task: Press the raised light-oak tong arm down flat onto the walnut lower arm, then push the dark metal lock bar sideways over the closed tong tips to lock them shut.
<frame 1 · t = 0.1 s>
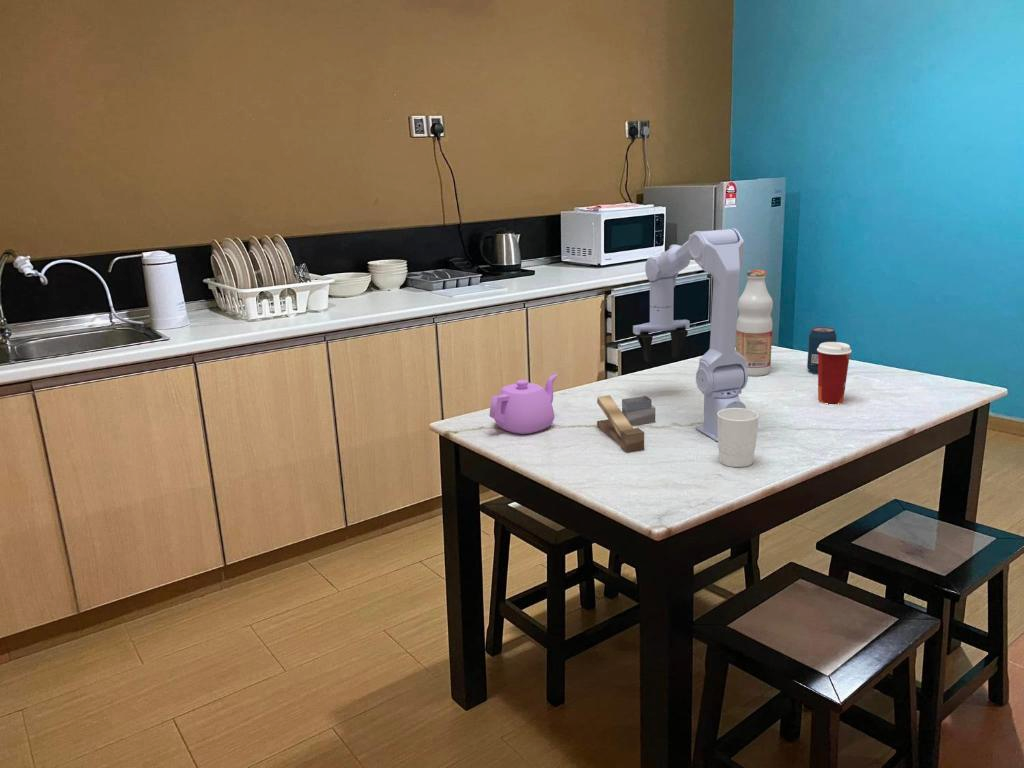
hand: (661, 359, 197), 10 cm above the table, tool pointing down, fingers open, 7 cm apart
soda can: (820, 372, 215), on the table
tongs base: (615, 435, 175), on the table
fruit juice: (752, 372, 218), on the table
white cup: (736, 462, 158), on the table
teapot: (526, 426, 185), on the table
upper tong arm: (615, 416, 174), point 5 cm above the table, hinge at 18.0°
paper cup: (830, 401, 191), on the table
lock bar: (636, 403, 181), point 5 cm above the table, slide at 0.0 cm
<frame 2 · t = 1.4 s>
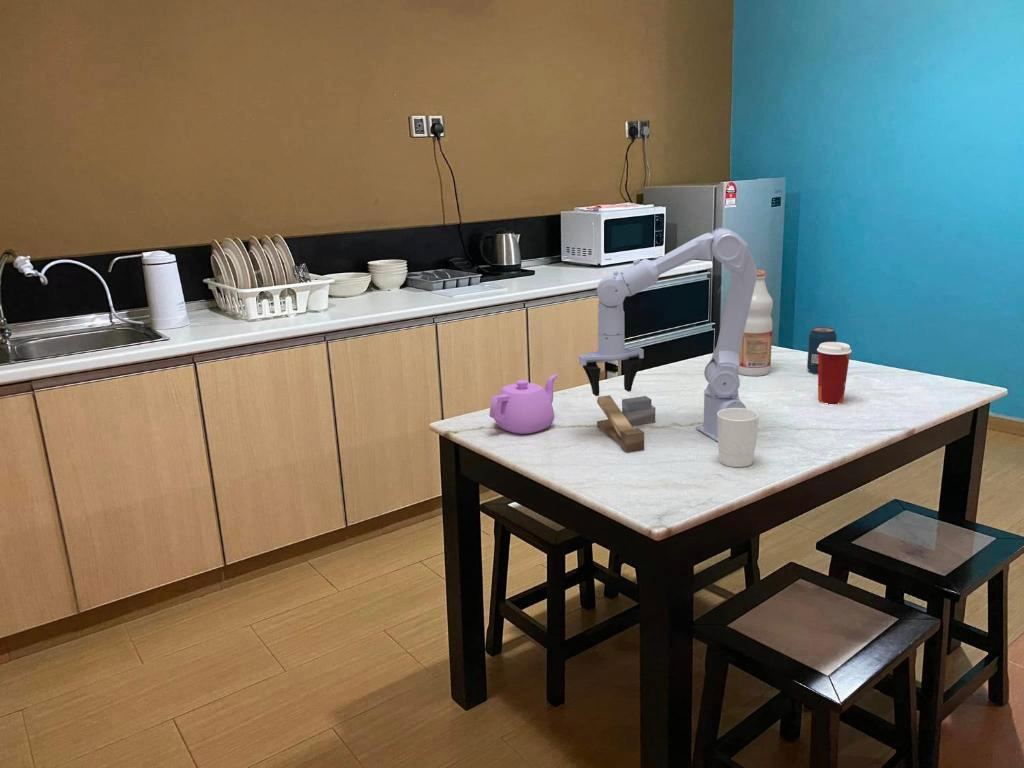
hand: (611, 392, 174), 9 cm above the table, tool pointing down, fingers open, 7 cm apart
nothing on the table moved.
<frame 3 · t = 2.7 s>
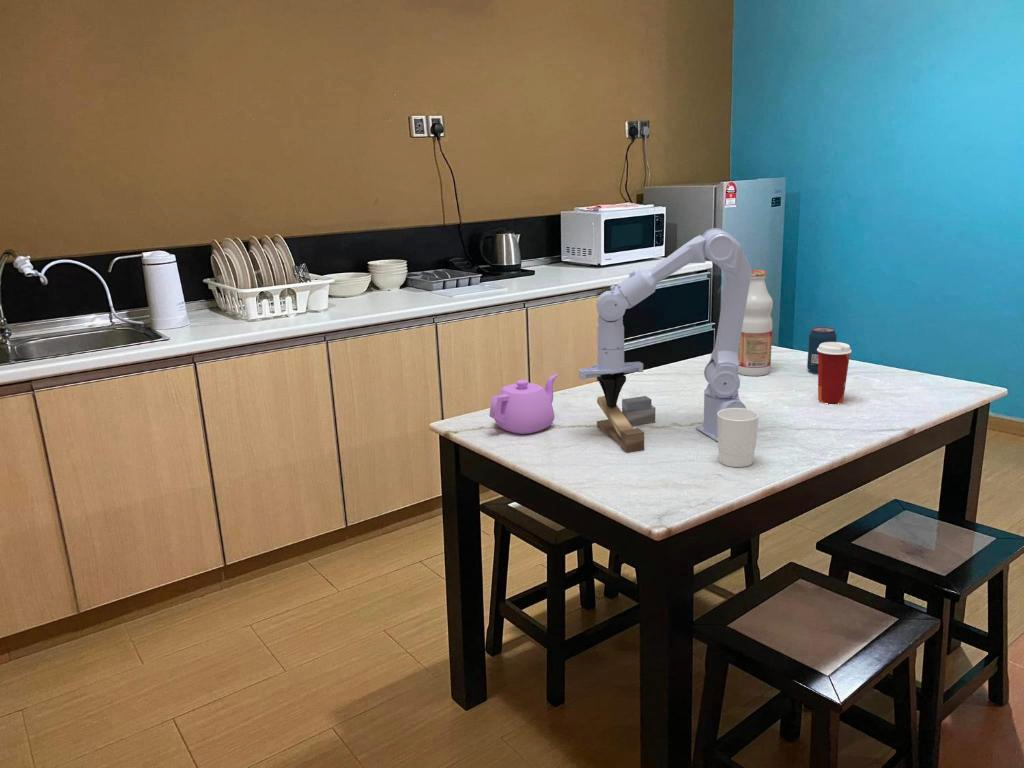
hand: (611, 406, 175), 6 cm above the table, tool pointing down, fingers closed, pressing on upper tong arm
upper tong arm: (615, 416, 174), point 5 cm above the table, hinge at 18.0°, touching gripper
everything else where it was.
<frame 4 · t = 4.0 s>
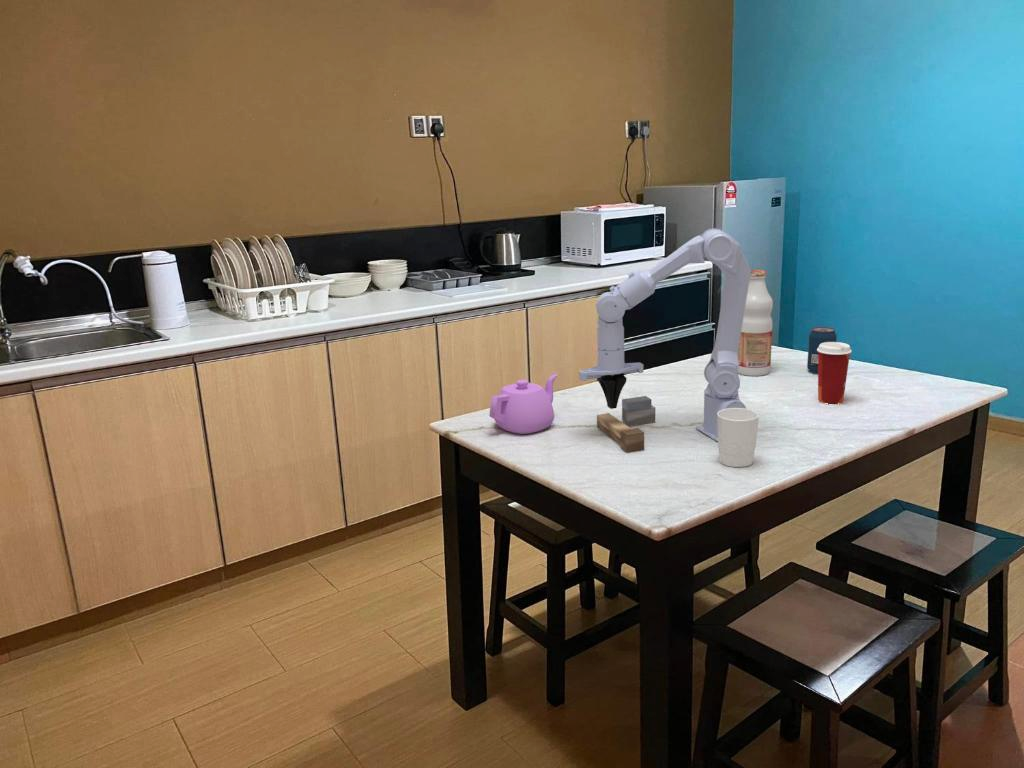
hand: (612, 407, 175), 6 cm above the table, tool pointing down, fingers closed
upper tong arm: (615, 426, 174), point 2 cm above the table, hinge at -0.7°, touching tongs base
everything else where it was.
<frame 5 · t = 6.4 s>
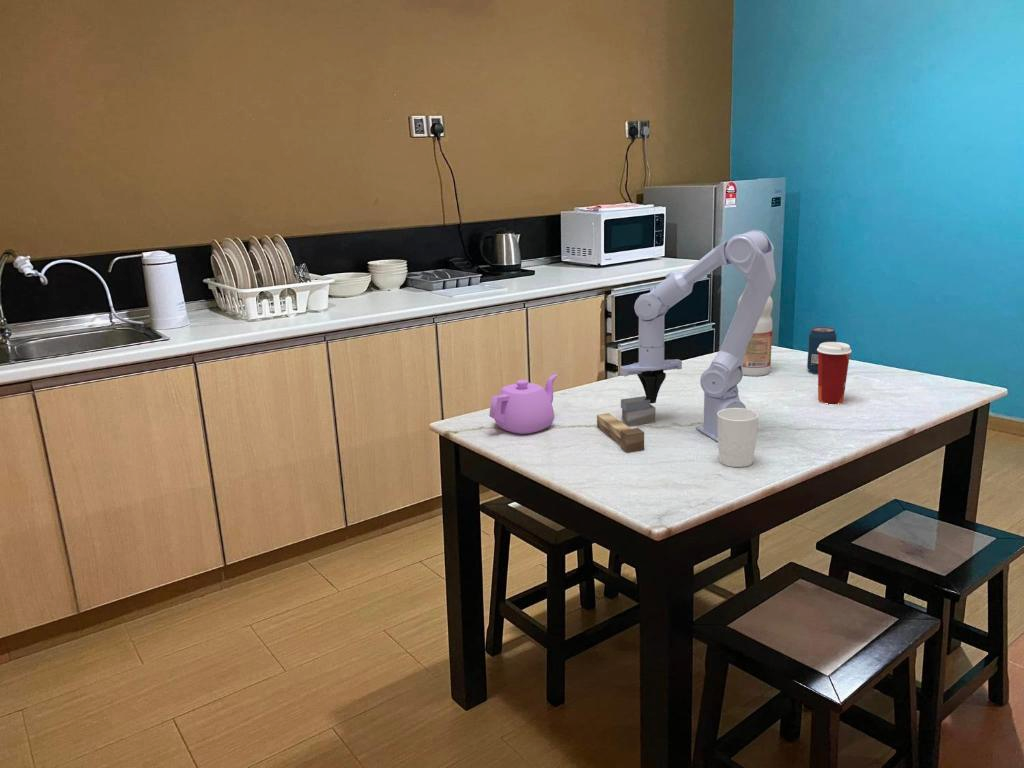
hand: (651, 402, 182), 5 cm above the table, tool pointing down, fingers closed
lock bar: (635, 403, 181), point 5 cm above the table, slide at 0.3 cm, touching gripper
everything else where it was.
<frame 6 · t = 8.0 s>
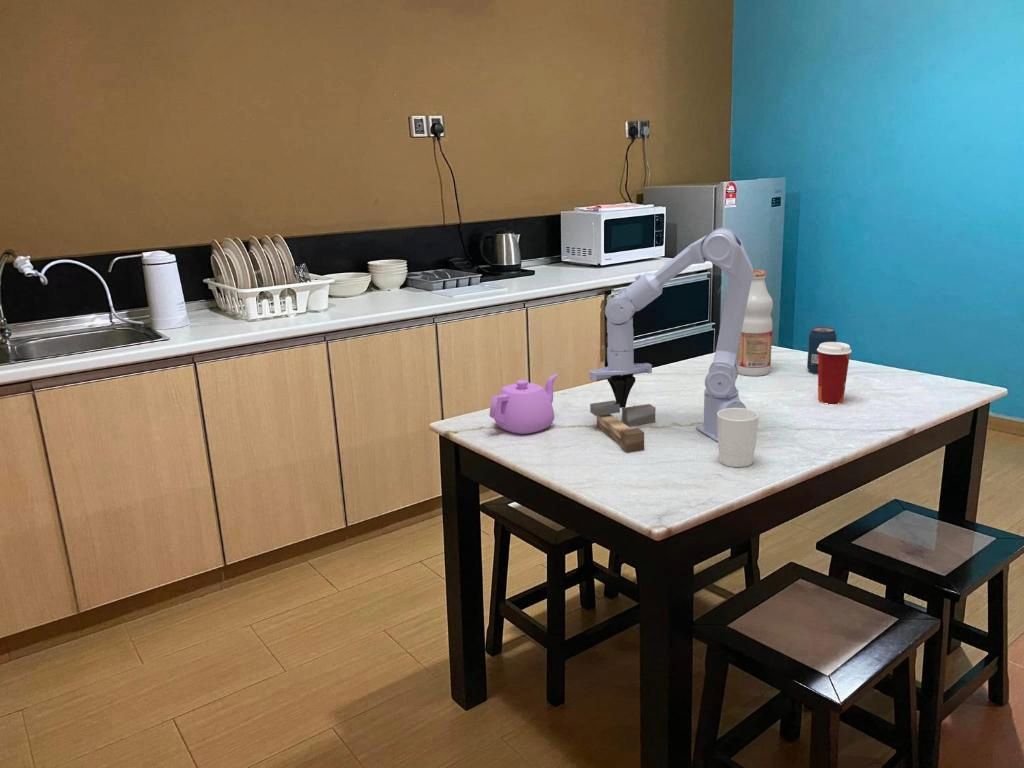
hand: (621, 406, 180), 5 cm above the table, tool pointing down, fingers closed
lock bar: (604, 408, 179), point 5 cm above the table, slide at 7.9 cm, touching gripper
everything else where it was.
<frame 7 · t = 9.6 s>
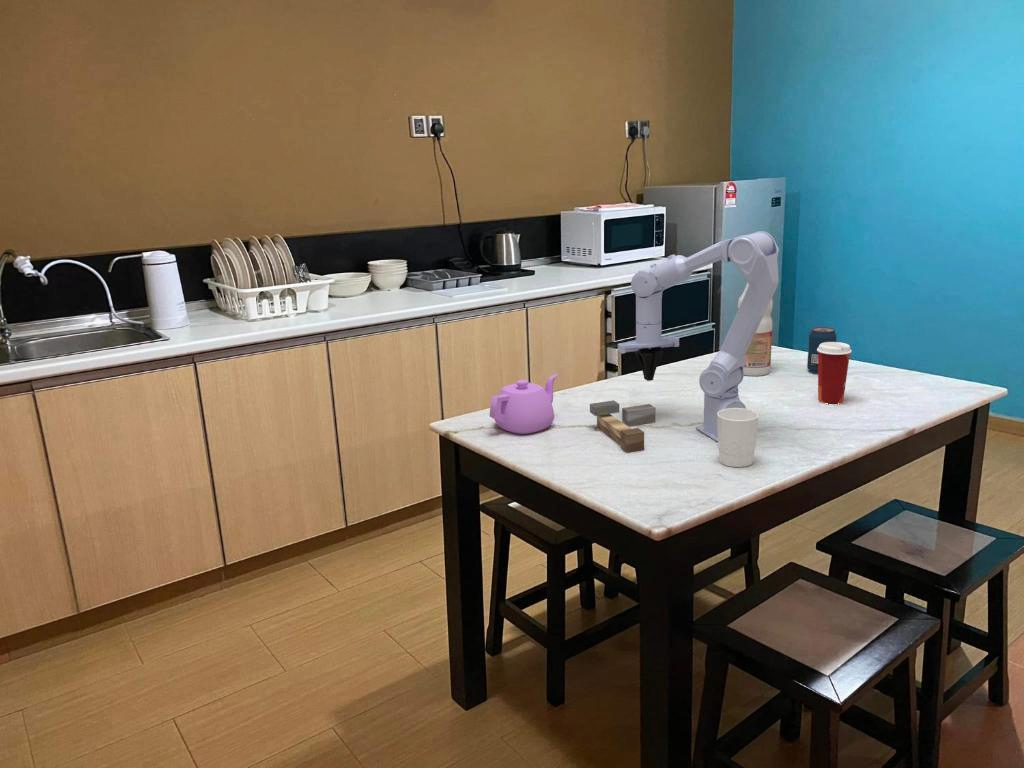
hand: (648, 379, 183), 9 cm above the table, tool pointing down, fingers closed
lock bar: (604, 408, 179), point 5 cm above the table, slide at 8.0 cm
everything else where it was.
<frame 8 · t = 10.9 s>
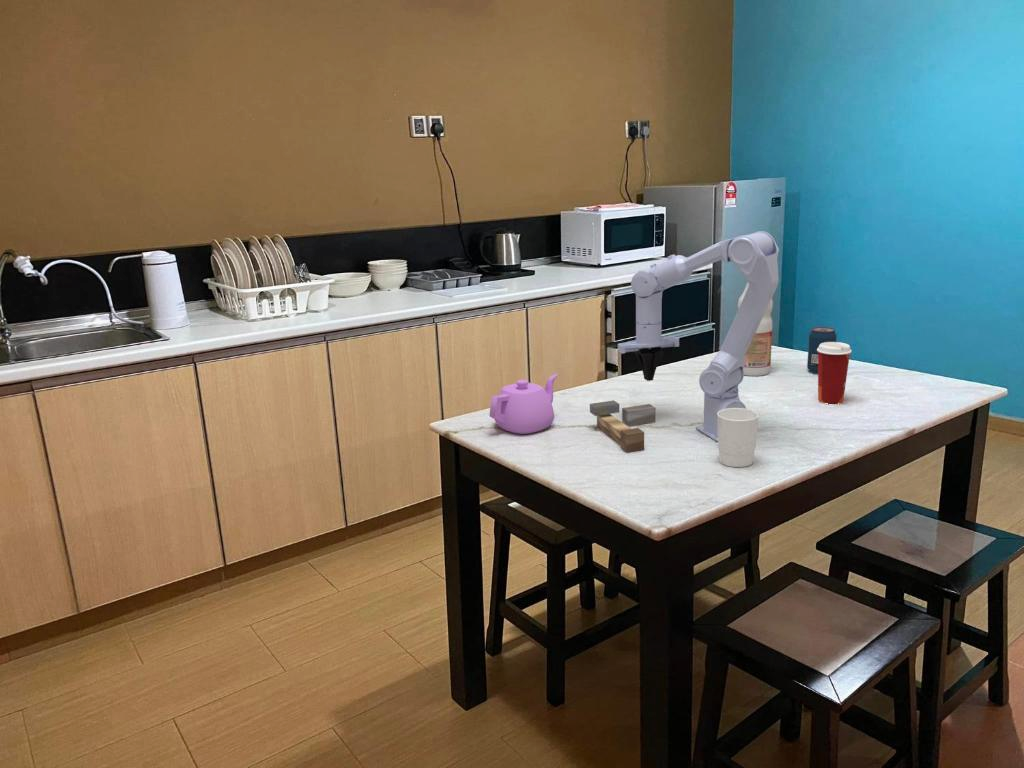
hand: (648, 379, 183), 9 cm above the table, tool pointing down, fingers closed
nothing on the table moved.
at the end: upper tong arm at -1° (first picture: +18°); lock bar slide at 8.0 cm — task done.
